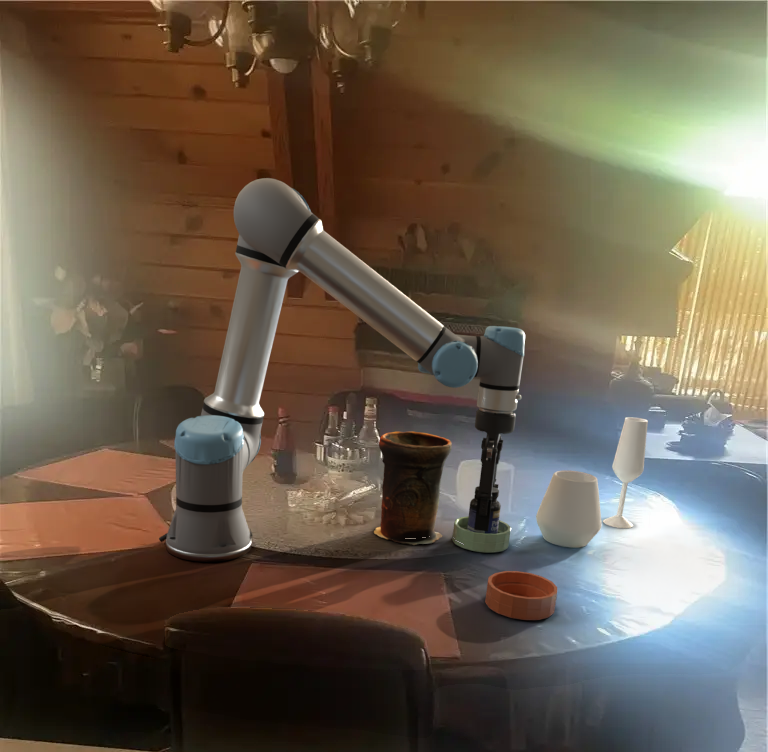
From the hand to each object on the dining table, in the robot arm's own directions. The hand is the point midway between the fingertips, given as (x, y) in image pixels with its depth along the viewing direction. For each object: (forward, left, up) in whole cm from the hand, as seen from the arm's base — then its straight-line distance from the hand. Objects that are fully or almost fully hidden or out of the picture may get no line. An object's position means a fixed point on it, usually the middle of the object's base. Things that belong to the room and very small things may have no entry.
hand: (482, 524), depth 151 cm
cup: (+17, +10, -4) cm, 20 cm away
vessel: (-15, 0, -4) cm, 16 cm away
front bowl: (+9, -28, -4) cm, 30 cm away
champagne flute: (+29, +27, -4) cm, 40 cm away
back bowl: (0, 0, -4) cm, 4 cm away
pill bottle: (0, 0, -4) cm, 4 cm away
